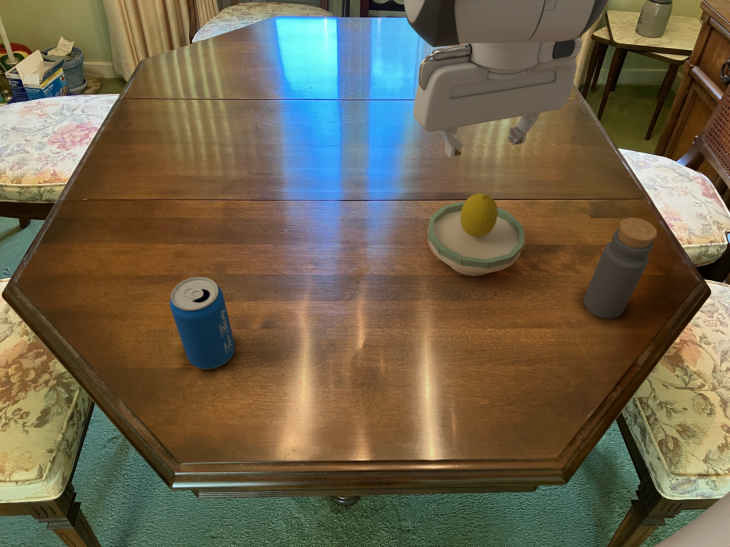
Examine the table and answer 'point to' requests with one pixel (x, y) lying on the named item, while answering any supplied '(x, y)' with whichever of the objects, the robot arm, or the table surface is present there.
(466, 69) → the robot arm
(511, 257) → the bowl
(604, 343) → the table surface
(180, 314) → the beverage can
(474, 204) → the lemon
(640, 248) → the bottle
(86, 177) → the table surface
